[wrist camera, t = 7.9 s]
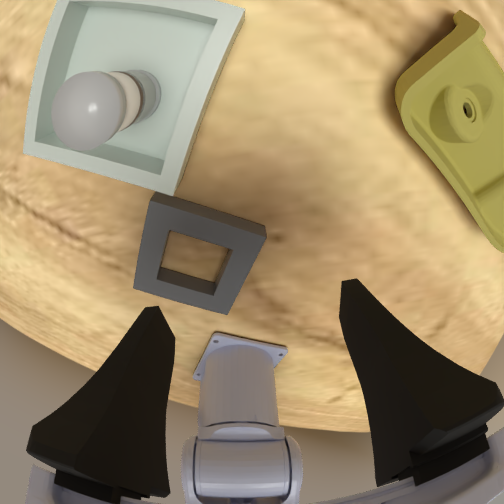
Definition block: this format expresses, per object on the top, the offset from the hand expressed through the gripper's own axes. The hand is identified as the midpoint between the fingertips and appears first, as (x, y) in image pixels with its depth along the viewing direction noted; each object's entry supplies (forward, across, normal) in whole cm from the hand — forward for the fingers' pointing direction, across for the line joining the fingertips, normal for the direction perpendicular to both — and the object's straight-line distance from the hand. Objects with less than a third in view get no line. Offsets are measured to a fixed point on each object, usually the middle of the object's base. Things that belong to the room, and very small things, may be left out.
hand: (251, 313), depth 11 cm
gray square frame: (+10, +4, +3) cm, 12 cm away
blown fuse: (+10, +5, -9) cm, 14 cm away
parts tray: (+10, +6, -10) cm, 15 cm away
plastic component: (+10, -20, -4) cm, 22 cm away
